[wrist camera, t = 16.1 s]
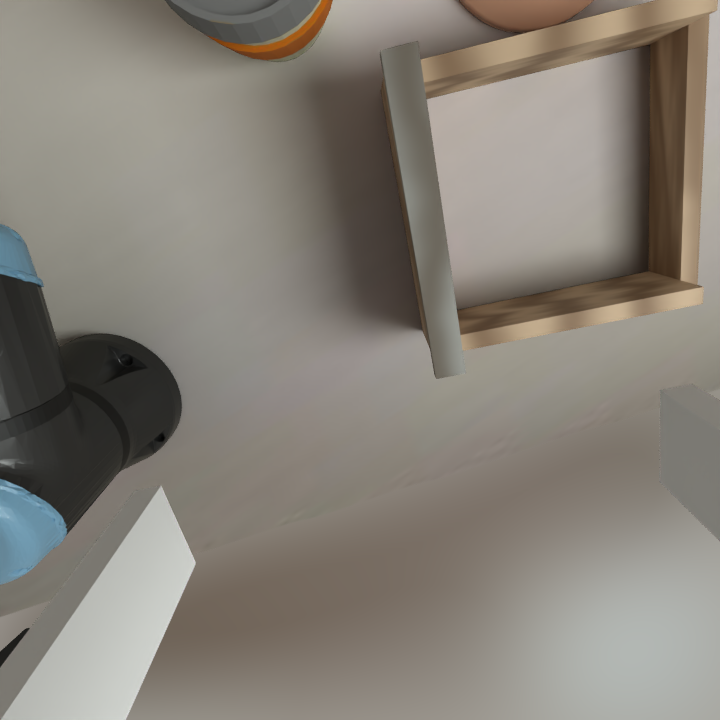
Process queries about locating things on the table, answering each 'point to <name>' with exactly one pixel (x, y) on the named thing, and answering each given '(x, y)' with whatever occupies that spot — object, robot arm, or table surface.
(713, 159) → the table surface
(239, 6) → the reusable coffee cup
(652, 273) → the frame
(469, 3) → the saucer
